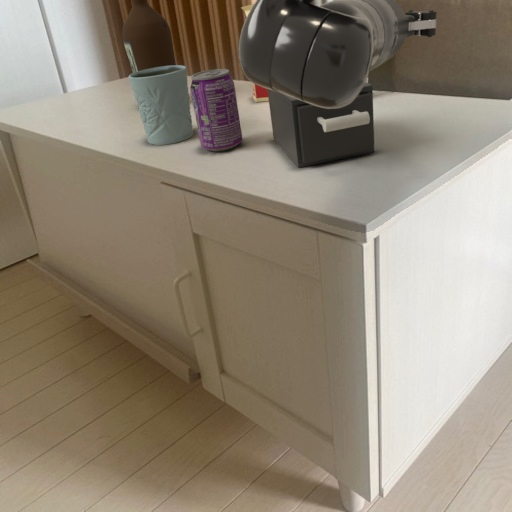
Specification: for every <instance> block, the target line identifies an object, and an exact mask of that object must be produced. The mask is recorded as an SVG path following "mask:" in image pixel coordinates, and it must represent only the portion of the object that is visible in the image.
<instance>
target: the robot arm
mask: <svg viewBox="0 0 512 512" xmlns="http://www.w3.org/2000/svg"><path fill="white" fill-rule="evenodd" d="M313 2H315V0H256V1H255V2H254V3H253V4H254V5H253V7H252V9H251V10H250V12H249V14H248V16H247V17H246V18H245V20H244V23H243V25H242V28H241V30H240V34H239V39H238V45H237V47H238V48H237V53H238V61H239V62H238V63H239V65H240V69H241V71H242V73H243V75H244V77H245V79H247V80H248V81H249V82H251V83H252V84H253V83H254V84H256V85H258V86H261V87H263V88H266V89H269V90H272V91H275V92H278V93H281V94H284V95H286V96H289V97H292V98H294V99H297V100H300V101H303V102H306V103H308V104H311V105H314V106H317V107H320V108H324V109H339V108H343V107H345V106H347V105H349V104H350V103H352V102H353V101H354V100H355V98H356V97H357V96H358V95H359V93H360V92H361V90H362V88H363V86H364V84H365V82H366V80H367V77H368V78H369V74H370V72H371V71H373V70H375V69H377V68H378V67H380V66H382V65H384V64H385V63H387V62H388V61H390V60H391V59H393V58H394V56H395V55H397V54H398V52H400V51H399V50H400V49H401V47H402V46H403V45H404V42H405V39H407V38H411V37H413V36H417V37H421V36H422V37H427V38H432V37H433V36H436V32H437V14H438V12H437V11H435V10H434V9H433V10H431V9H430V10H428V11H425V10H423V11H422V10H421V11H418V10H417V11H416V10H415V11H414V10H413V9H411V10H410V9H409V10H408V11H405V12H404V10H403V8H402V6H401V5H400V4H399V3H398V2H397V0H331V1H327V2H325V3H323V4H321V5H316V4H313Z"/></svg>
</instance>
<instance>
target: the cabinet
mask: <svg viewBox="0 0 512 512" xmlns="http://www.w3.org/2000/svg"><path fill="white" fill-rule="evenodd" d="M365 93H370V94H372V112H373V113H374V89H373V84H371V83H369V82H368V83H366V82H365V84H364V86H363V88H362V90H361V92H360V94H365ZM268 98H269V101H268V106H269V113H270V121H271V130H272V138H273V142H274V143H275V144H276V145H277V146H278V147H279V148H280V149H281V151H282V152H283V153H284V154H285V155H286V156H287V157H288V159H290V160H291V161H292V163H293V164H294V165H295V166H296V167H297V168H298V169H300V168H304V167H310V166H315V165H319V164H323V163H324V164H325V163H327V162H328V163H329V162H335V161H338V160H344V159H348V158H352V157H358V156H362V155H367V154H371V153H375V148H374V149H372V150H367V151H363V152H358V153H353V154H348V155H343V156H339V157H334V158H329V159H324V160H319V161H315V162H310V163H303V162H302V156H301V146H300V136H299V126H298V116H297V107H298V105H303V104H308V103H306V102H303V101H300V100H297V99H294V98H292V97H289V96H286V95H284V94H281V93H278V92H275V91H272V90H269V89H268ZM373 144H374V145H375V126H374V119H373Z"/></svg>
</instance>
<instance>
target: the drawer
mask: <svg viewBox="0 0 512 512" xmlns="http://www.w3.org/2000/svg"><path fill="white" fill-rule="evenodd" d="M297 116H298V126H299V136H300V146H301V156H302V162H303V163H310V162H315V161H319V160H324V159H329V158H334V157H339V156H343V155H348V154H353V153H358V152H363V151H367V150H372V149H374V150H375V143H374V144H373V120H374V111H373V112H372V94H370V93H365V94H360V93H359V95H358V96H357V97H356V98H355V100H354V101H353V102H352V103H350V104H349V105H347V106H345V107H343V108H339V109H324V108H320V107H317V106H314V105H311V104H303V105H298V107H297Z"/></svg>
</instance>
